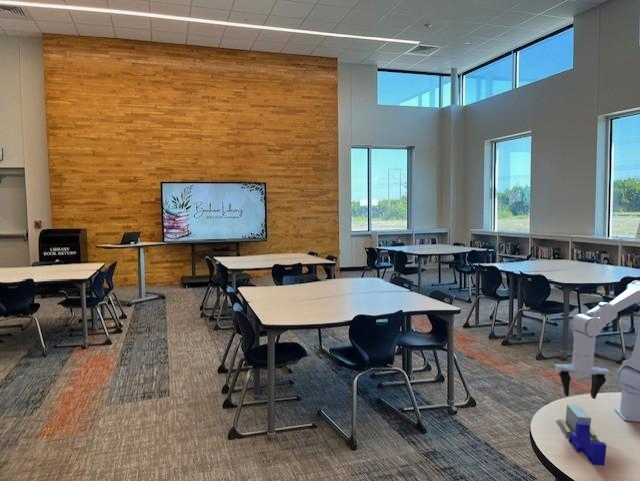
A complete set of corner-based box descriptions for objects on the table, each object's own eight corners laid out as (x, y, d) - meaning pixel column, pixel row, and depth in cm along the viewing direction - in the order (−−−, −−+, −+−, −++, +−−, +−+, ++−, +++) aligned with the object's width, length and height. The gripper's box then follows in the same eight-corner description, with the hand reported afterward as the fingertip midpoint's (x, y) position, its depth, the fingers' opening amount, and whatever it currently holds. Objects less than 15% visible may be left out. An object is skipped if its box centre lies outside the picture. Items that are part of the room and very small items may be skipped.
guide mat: (587, 424, 146) (587, 424, 146) (599, 441, 137) (599, 440, 137) (556, 421, 148) (556, 420, 148) (565, 437, 139) (565, 436, 139)
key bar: (589, 437, 138) (591, 418, 138) (576, 436, 139) (578, 417, 138) (577, 423, 146) (579, 405, 146) (565, 423, 147) (567, 404, 146)
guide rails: (586, 425, 146) (587, 422, 145) (596, 438, 138) (596, 435, 138) (559, 422, 147) (559, 419, 147) (566, 435, 139) (566, 431, 139)
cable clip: (568, 440, 137) (570, 421, 136) (585, 442, 137) (587, 422, 136) (586, 464, 125) (588, 443, 125) (604, 466, 125) (606, 445, 124)
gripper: (604, 351, 146) (600, 393, 148) (554, 347, 149) (550, 388, 151) (613, 359, 140) (609, 403, 141) (560, 355, 142) (557, 397, 144)
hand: (579, 396), depth 145 cm, fingers open, 7 cm apart
